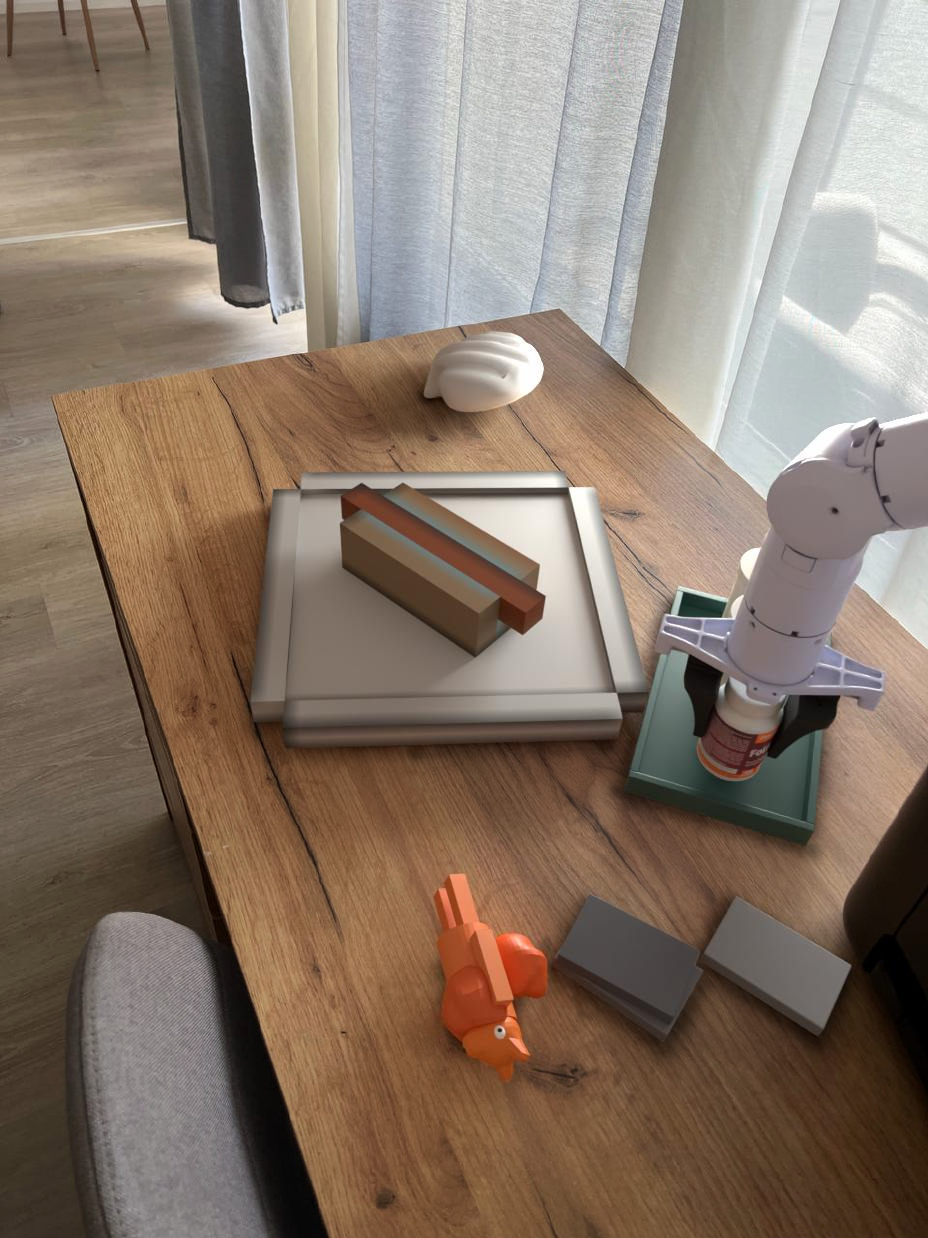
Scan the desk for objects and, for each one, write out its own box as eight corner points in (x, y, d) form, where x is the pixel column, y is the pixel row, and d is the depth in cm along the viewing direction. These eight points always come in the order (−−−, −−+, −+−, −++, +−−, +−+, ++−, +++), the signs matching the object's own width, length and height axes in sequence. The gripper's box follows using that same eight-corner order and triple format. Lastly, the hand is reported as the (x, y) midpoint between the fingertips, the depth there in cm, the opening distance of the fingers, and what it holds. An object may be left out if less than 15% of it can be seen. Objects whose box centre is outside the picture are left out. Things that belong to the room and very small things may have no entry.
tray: (805, 846, 68) (814, 831, 66) (623, 792, 70) (628, 776, 69) (825, 641, 82) (832, 625, 81) (673, 601, 84) (677, 585, 83)
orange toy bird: (423, 865, 59) (478, 1061, 51) (528, 860, 62) (595, 1043, 54) (398, 908, 62) (445, 1099, 54) (499, 901, 65) (558, 1080, 57)
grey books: (845, 973, 61) (858, 957, 60) (778, 1126, 55) (790, 1112, 53) (631, 842, 67) (637, 824, 66) (546, 966, 61) (551, 949, 59)
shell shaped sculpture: (563, 403, 105) (571, 350, 101) (479, 445, 99) (483, 391, 95) (484, 353, 112) (488, 302, 107) (400, 389, 106) (400, 336, 101)
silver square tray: (586, 496, 94) (597, 433, 89) (647, 743, 73) (667, 679, 68) (277, 498, 92) (270, 433, 86) (252, 754, 71) (239, 689, 66)
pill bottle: (747, 794, 69) (781, 722, 63) (685, 764, 70) (713, 691, 64) (769, 749, 72) (803, 676, 66) (709, 721, 73) (737, 647, 67)
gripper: (664, 617, 58) (626, 750, 68) (911, 682, 55) (834, 811, 65) (683, 545, 63) (645, 679, 73) (911, 601, 60) (840, 733, 70)
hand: (735, 736), depth 69 cm, fingers closed on pill bottle, 5 cm apart
